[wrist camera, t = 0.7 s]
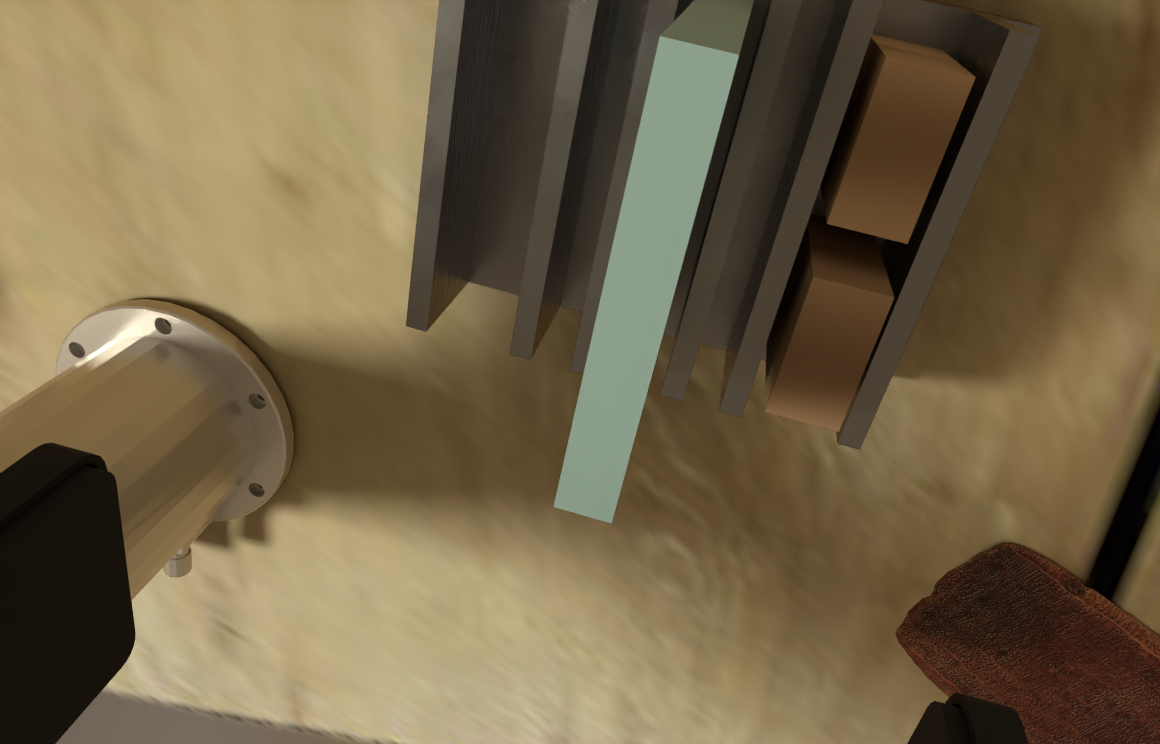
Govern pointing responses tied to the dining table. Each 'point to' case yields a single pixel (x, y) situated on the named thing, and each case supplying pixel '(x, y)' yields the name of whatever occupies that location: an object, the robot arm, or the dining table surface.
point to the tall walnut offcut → (826, 325)
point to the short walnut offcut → (893, 137)
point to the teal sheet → (650, 246)
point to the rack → (733, 182)
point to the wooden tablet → (1039, 650)
